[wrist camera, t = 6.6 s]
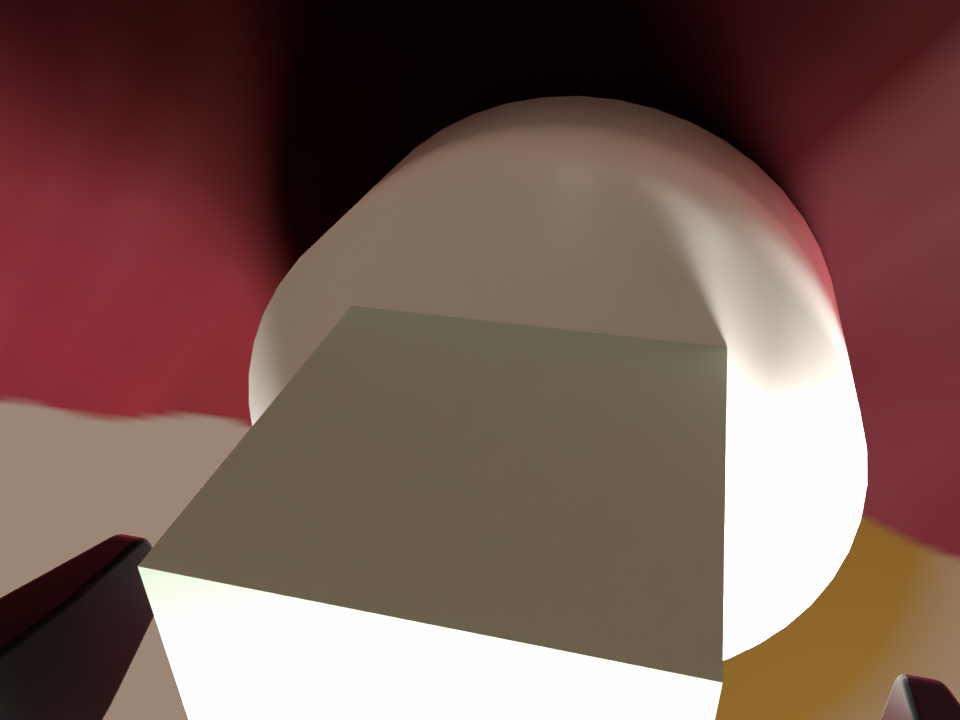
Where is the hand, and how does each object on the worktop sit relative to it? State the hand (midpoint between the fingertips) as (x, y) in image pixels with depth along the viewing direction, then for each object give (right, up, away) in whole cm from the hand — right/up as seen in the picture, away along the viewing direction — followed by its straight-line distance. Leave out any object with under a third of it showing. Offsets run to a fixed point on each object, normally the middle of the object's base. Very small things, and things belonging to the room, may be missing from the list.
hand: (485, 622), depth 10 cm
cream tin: (+2, +3, +6) cm, 7 cm away
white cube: (+1, +1, +2) cm, 3 cm away
